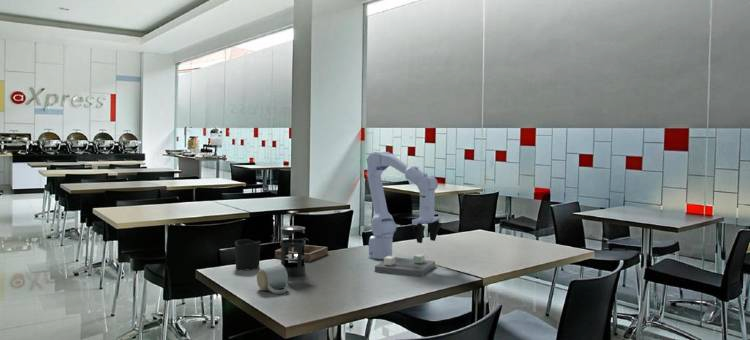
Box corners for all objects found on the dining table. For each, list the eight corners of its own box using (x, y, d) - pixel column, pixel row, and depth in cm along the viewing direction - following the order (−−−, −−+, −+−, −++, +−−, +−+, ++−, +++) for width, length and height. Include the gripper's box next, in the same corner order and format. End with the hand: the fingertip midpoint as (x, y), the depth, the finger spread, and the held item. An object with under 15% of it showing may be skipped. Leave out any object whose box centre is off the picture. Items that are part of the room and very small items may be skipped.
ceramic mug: (255, 288, 182) (255, 265, 181) (277, 284, 187) (277, 262, 186) (270, 296, 173) (270, 272, 173) (293, 292, 179) (293, 268, 178)
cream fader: (383, 264, 209) (383, 258, 208) (388, 262, 213) (388, 255, 213) (391, 265, 208) (391, 258, 207) (395, 262, 212) (395, 256, 212)
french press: (311, 274, 201) (312, 211, 200) (289, 278, 195) (290, 213, 193) (293, 268, 210) (294, 208, 208) (272, 272, 204) (272, 210, 202)
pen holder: (258, 264, 217) (258, 238, 216) (261, 269, 208) (261, 243, 207) (233, 265, 214) (233, 239, 213) (235, 271, 205) (235, 244, 204)
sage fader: (413, 262, 213) (413, 256, 212) (417, 260, 217) (417, 253, 217) (420, 263, 211) (421, 256, 211) (424, 261, 216) (424, 254, 215)
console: (374, 271, 207) (374, 266, 207) (391, 261, 224) (391, 256, 224) (421, 276, 200) (421, 271, 200) (435, 266, 217) (435, 261, 217)
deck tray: (275, 257, 228) (275, 250, 228) (295, 250, 243) (295, 243, 243) (309, 261, 222) (309, 254, 222) (327, 254, 237) (327, 247, 237)
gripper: (421, 209, 209) (421, 245, 210) (447, 206, 219) (446, 241, 220) (408, 207, 214) (407, 242, 215) (433, 204, 224) (432, 238, 225)
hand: (426, 241), depth 218 cm, fingers open, 7 cm apart
